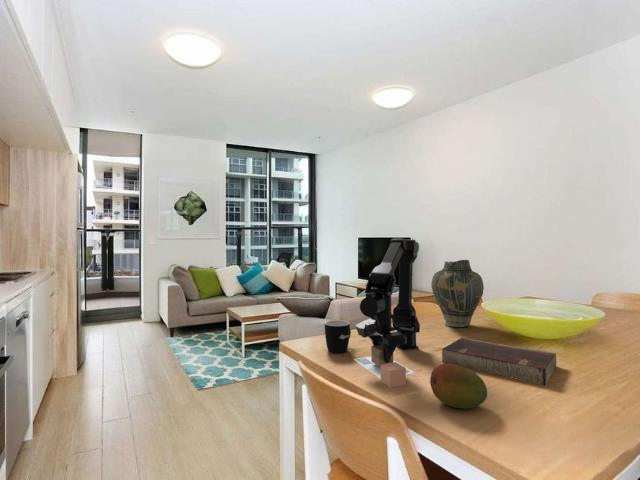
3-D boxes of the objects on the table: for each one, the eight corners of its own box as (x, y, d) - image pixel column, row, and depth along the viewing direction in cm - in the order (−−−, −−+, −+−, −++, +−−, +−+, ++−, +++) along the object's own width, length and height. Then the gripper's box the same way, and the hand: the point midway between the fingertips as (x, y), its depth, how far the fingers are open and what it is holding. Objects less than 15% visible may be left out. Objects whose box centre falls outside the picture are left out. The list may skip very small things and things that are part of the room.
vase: (492, 331, 157) (492, 260, 156) (439, 332, 157) (439, 261, 156) (471, 319, 179) (471, 257, 178) (425, 319, 179) (425, 257, 179)
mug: (339, 356, 127) (339, 327, 127) (319, 351, 133) (319, 323, 132) (359, 348, 136) (359, 320, 136) (340, 343, 142) (340, 317, 141)
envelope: (384, 355, 128) (384, 354, 128) (415, 373, 111) (415, 372, 111) (353, 359, 124) (353, 358, 124) (379, 379, 107) (379, 378, 107)
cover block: (396, 379, 107) (395, 362, 107) (405, 386, 102) (405, 368, 102) (380, 381, 105) (380, 364, 105) (390, 388, 101) (389, 370, 101)
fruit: (424, 395, 96) (424, 357, 96) (471, 393, 97) (471, 355, 97) (443, 418, 84) (443, 374, 84) (496, 415, 85) (496, 372, 85)
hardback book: (556, 367, 116) (556, 351, 116) (545, 387, 102) (545, 369, 102) (462, 349, 135) (462, 336, 135) (442, 364, 120) (442, 348, 120)
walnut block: (385, 359, 121) (385, 344, 121) (393, 364, 116) (393, 348, 116) (371, 361, 119) (371, 346, 119) (379, 366, 114) (379, 350, 114)
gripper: (346, 307, 123) (347, 354, 123) (373, 319, 106) (373, 373, 106) (376, 304, 127) (376, 350, 127) (407, 316, 109) (407, 368, 110)
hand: (382, 359), depth 117 cm, fingers closed on walnut block, 5 cm apart
